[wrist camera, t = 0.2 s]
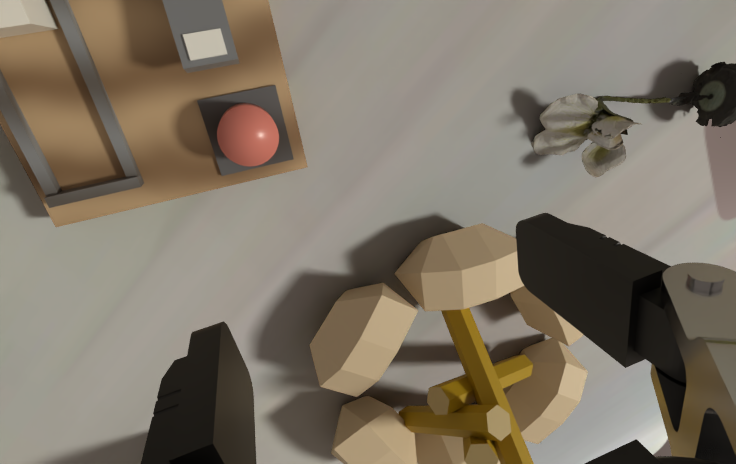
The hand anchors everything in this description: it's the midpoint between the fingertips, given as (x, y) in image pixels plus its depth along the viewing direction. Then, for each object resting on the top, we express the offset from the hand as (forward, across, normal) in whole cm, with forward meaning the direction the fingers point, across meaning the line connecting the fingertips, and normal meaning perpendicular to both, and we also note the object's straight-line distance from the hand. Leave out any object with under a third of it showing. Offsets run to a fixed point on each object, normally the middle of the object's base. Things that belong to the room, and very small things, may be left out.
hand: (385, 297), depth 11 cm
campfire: (+29, -12, +30) cm, 44 cm away
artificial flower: (+29, -36, +8) cm, 47 cm away
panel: (+29, +8, -8) cm, 31 cm away
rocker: (+24, +3, -11) cm, 27 cm away
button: (+26, +3, -1) cm, 26 cm away
